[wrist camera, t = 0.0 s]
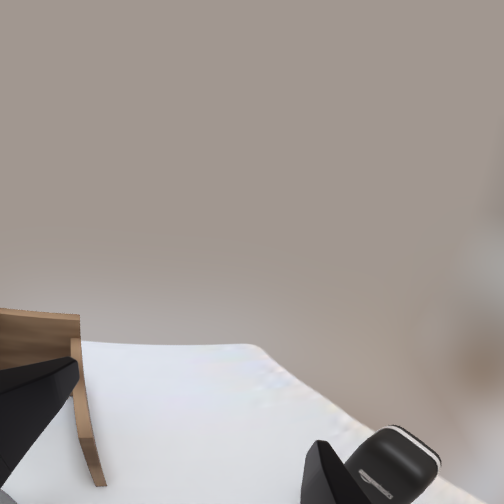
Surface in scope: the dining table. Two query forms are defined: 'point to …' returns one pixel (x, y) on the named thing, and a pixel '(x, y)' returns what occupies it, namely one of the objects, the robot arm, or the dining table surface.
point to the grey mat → (6, 498)
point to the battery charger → (393, 466)
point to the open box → (47, 348)
